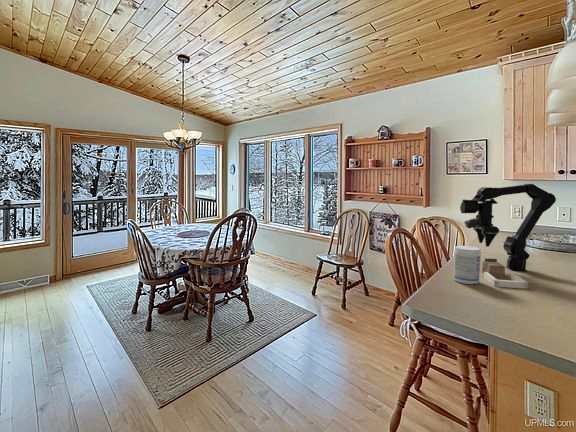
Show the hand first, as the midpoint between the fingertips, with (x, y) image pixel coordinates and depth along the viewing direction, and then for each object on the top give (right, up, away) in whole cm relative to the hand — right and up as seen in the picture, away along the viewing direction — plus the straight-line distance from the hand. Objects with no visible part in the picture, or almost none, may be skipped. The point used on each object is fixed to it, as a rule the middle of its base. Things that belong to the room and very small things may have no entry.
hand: (483, 244), depth 146 cm
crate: (-2, -13, -9) cm, 16 cm away
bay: (-5, -14, -20) cm, 25 cm away
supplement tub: (-20, -14, -19) cm, 31 cm away
